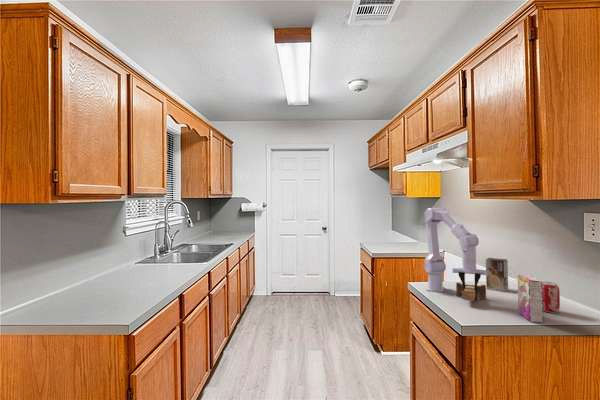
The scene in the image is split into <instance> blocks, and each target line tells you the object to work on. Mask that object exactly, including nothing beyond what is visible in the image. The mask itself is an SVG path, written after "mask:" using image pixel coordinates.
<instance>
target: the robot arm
mask: <svg viewBox="0 0 600 400" xmlns="http://www.w3.org/2000/svg"><path fill="white" fill-rule="evenodd" d="M424 220H425V227H426V236H427V237H426V238H427V239H426V240H427V247H428V248H427V249H428V255H427V256H426V257H425V258H424V265H423V267H424V271H426V273H427V282H428V283H427V285H428V286H427V288H426V291H430V292H440V293H442V292H444V290H445V287H444V285H443V284H444V283H443V274H444V272H445V271H446V269H447V265H446V262H445V258H444V257H443V256H442V255H441V253H440V247H439V246H440V244H439V236H438V225H439V224H440V223H442V222H443V223H444V224H446V225H447V226H448V228H450V229H451V230H450V231H451V233H452V234H453V235H454V237H455V238H456V239H458V243H459V245H460V249H461V252H462V268H461V267H457V268H452V274H455V273H456V274H458V277H459V279H460V282H461V284H463V289H465V284H466V274H469V275H474V285H475V288H474V289H475V290H476V287H477V286H478V284H479V281H480V278H481V277H482V276H486V275H487V270H486V269H477V250H476V249H477V246H478V245H479V242H480V241H479V238H478V236H477V235H476V234H475V233H471V232H470V231H468V230H467V229H466V227H464V224H460V223H459V224H458V223H457V222H456V221H455V220H454V219H453V217H451V215H450V214H449V210H447V208H446V207H429V208H428V207H427V209H425V211H424ZM481 275H482V276H481Z"/></svg>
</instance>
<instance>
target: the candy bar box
mask: <svg viewBox="0 0 600 400" xmlns="http://www.w3.org/2000/svg"><path fill="white" fill-rule="evenodd" d="M542 282H543V281H542V280H540V279H539V278H536V277H534V276H532V275H531V274H517V294H518V295H517V297H518V298H517V299H518V301H517V302H518V313H519V314H520V315H521V316H522V317H523V318H524V319H526V320H527V321H528V322H529V323H535V324H536V323H541V324H543V323H544V311H543V298H542Z"/></svg>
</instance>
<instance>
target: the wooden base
mask: <svg viewBox="0 0 600 400" xmlns="http://www.w3.org/2000/svg"><path fill="white" fill-rule="evenodd" d="M455 285H456V287H455V290H456V297H461V298H462V299H464V290H465V289H463V284H462V282H456V283H455ZM466 285H468V286H475V284H466V283H465V287H466ZM475 299H476V301H480V300H486V299H487V285H486V284H481V285H477V287H476V290H475Z"/></svg>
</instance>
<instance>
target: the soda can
mask: <svg viewBox="0 0 600 400" xmlns="http://www.w3.org/2000/svg"><path fill="white" fill-rule="evenodd" d="M542 298H543V312H544V311H545V312H544V313H547V312H549V313H548V314H557V313H559V312H560V309H561V299H560V298H561V297H560V287H559V286H558V283H556V282H552V281H542Z"/></svg>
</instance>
